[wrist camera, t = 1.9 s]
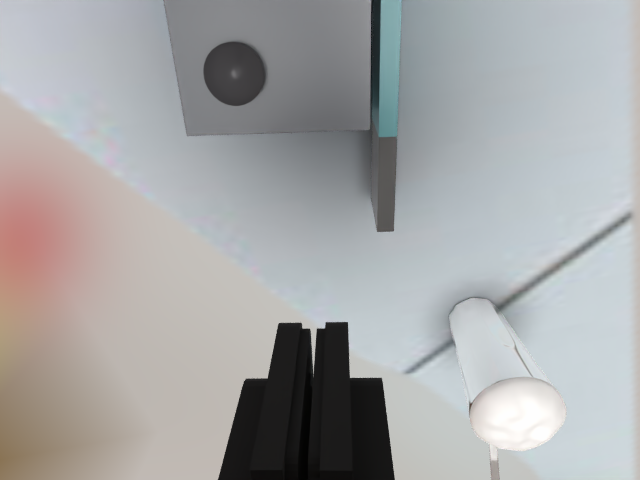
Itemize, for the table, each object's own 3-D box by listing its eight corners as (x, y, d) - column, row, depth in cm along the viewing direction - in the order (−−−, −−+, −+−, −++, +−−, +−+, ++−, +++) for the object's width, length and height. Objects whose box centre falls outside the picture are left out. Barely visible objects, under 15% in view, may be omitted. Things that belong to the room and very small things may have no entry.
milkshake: (419, 340, 31) (454, 475, 22) (460, 278, 28) (517, 400, 19) (478, 361, 31) (535, 501, 22) (523, 302, 29) (605, 431, 20)
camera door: (371, -89, 20) (379, -115, 16) (394, -91, 20) (408, -117, 16) (369, 198, 26) (375, 231, 22) (386, 198, 26) (395, 231, 22)
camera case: (185, -64, 21) (136, -89, 16) (364, -74, 20) (373, -103, 15) (211, 113, 24) (178, 139, 19) (364, 108, 24) (370, 133, 19)
